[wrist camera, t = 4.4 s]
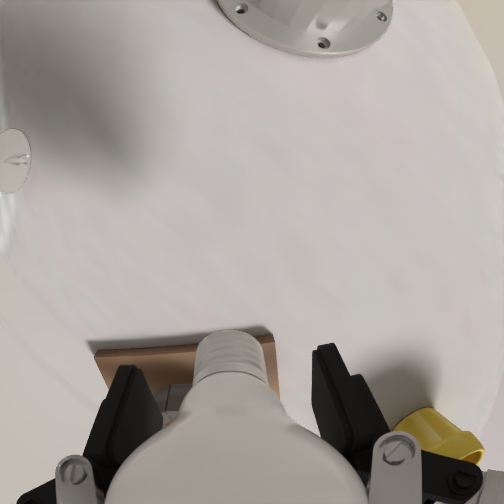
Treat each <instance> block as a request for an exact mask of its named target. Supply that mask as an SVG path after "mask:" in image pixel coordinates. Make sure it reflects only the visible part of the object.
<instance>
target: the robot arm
mask: <svg viewBox="0 0 504 504" xmlns="http://www.w3.org/2000/svg"><path fill="white" fill-rule="evenodd" d="M217 1H218V4H219V6H220V7H221V9H222V10H223V11H224V13H225V14H226V16H227V17H228V18H229V19H230V20H231V21H232V22H233V23H234V24H235V25H236V26H237V27H238V28H239V29H241V30H242V31H244V32H245V33H247V34H248V35H250V36H251V37H253V38H254V39H256V40H258V41H260V42H262V43H264V44H266V45H268V46H270V47H273V48H276V49H279V50H281V51H284V52H287V53H291V54H296V55H301V56H305V57H315V58H334V57H344V56H347V55H351V54H355V53H358V52H360V51H362V50H364V49H366V48H368V47H369V46H371V45H372V44H373V43H375V42H376V41H378V40H379V39H380V38H381V37H382V36H383V34H384V33H385V32H386V31H387V29H388V27H389V25H390V23H391V20H392V14H393V2H392V0H217ZM238 12H243V14H239V13H238ZM318 45H321V46H322V47H323V49H322V48H320V47H319V46H318ZM311 400H312V408H313V411H314V415H315V418H316V422H317V425H318V428H319V432H320V435H321V438H322V439H323V440H325V441H326V442H327V443H329V444H330V445H331V446H333V447H334V448H335V449H336V450H337V451H339V452H340V453H341V454H342V455H343V456H344V457H345V458H346V459H347V460H348V461H349V463H350V464H351V465H352V466H353V468H354V469H355V470H356V472H357V473H358V475H359V476H360V478H361V480H362V482H363V483H364V485H365V487H366V490H367V493H368V504H504V472H502V471H495V470H489V469H488V470H487V472H483V471H481V470H480V468H479V467H478V466H477V465H476V464H474V463H471V462H468V461H464V460H459V459H455V458H451V457H447V456H443V455H439V454H436V453H432V452H428V451H425V450H421V448H420V444H419V442H418V440H417V439H416V438H415V437H414V436H413V435H411V434H410V433H407V432H404V431H393V432H391V431H390V429H389V427H388V425H387V423H386V421H385V419H384V417H383V415H382V413H381V411H380V409H379V407H378V405H377V403H376V401H375V399H374V397H373V395H372V393H371V391H370V389H369V387H368V385H367V384H366V382H365V380H364V378H363V376H362V375H361V374H356V375H352V376H350V374H349V372H348V370H347V368H346V366H345V364H344V362H343V360H342V358H341V355H340V353H339V351H338V349H337V347H336V345H335V344H334V343H329V344H324V345H319V346H318V347H317V350H314V351H313V352H312V399H311ZM162 427H163V416H162V413H161V411H160V409H159V407H158V405H157V403H156V401H155V399H154V397H153V395H152V392H151V390H150V388H149V386H148V384H147V381H146V379H145V377H144V374H143V372H142V370H141V369H139V368H138V369H137V367H136V366H135V365H120V366H119V367H118V369H117V371H116V374H115V376H114V379H113V381H112V384H111V386H110V389H109V391H108V394H107V397H106V399H104V400H103V402H102V403H101V406H100V408H99V411H98V414H97V416H96V419H95V422H94V424H93V427H92V430H91V432H90V436H89V438H88V441H87V444H86V447H85V449H84V453H83V455H82V456H80V455H70V456H67V457H65V458H64V459H62V460H61V461H60V462H59V463H58V465H57V467H56V472H55V478H54V479H53V480H51V481H49V482H47V483H45V484H43V485H41V486H39V487H37V488H35V489H33V490H31V491H29V492H27V493H25V494H23V495H22V496H20V498H19V499H18V501H17V504H104V502H105V498H106V494H107V491H108V488H109V485H110V483H111V481H112V479H113V477H114V475H115V473H116V472H117V470H118V469H119V467H120V466H121V464H122V463H123V462H124V461H125V460H126V458H127V457H128V456H129V455H130V454H131V453H132V452H133V451H134V450H135V449H136V448H137V447H138V446H140V445H141V444H142V443H143V442H144V441H146V440H147V439H148V438H150V437H151V436H152V435H154V434H155V433H157V432H158V431H159V430H161V429H162Z"/></svg>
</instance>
